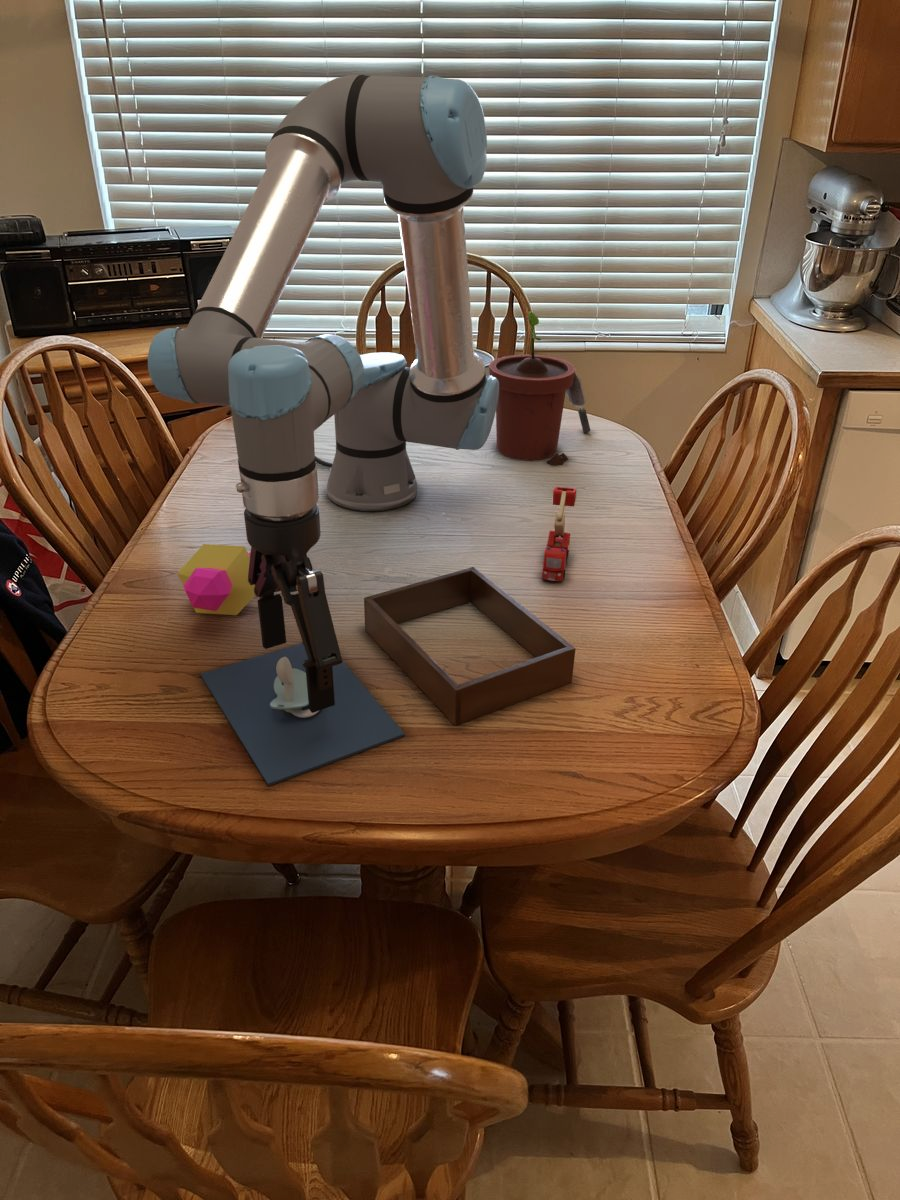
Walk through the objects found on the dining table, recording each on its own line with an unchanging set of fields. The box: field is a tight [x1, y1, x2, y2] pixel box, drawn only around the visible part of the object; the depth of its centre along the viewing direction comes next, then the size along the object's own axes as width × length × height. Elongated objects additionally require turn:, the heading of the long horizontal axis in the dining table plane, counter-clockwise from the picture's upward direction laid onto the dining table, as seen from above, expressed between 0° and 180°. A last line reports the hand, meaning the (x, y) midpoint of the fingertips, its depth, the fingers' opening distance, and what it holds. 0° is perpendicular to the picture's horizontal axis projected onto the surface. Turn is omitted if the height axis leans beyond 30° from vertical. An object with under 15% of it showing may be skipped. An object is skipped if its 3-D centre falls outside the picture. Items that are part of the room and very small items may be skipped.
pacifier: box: [270, 657, 320, 718], centre depth 102 cm, size 7×6×6 cm
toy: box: [177, 543, 256, 616], centre depth 120 cm, size 10×18×10 cm, turn 175°
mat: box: [199, 642, 406, 787], centre depth 104 cm, size 22×16×1 cm
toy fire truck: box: [541, 486, 577, 582], centre depth 132 cm, size 3×14×10 cm, turn 168°
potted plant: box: [488, 310, 591, 466], centre depth 167 cm, size 18×22×25 cm
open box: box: [363, 566, 576, 726], centre depth 112 cm, size 23×17×5 cm
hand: (297, 674), depth 102 cm, fingers open, 13 cm apart
